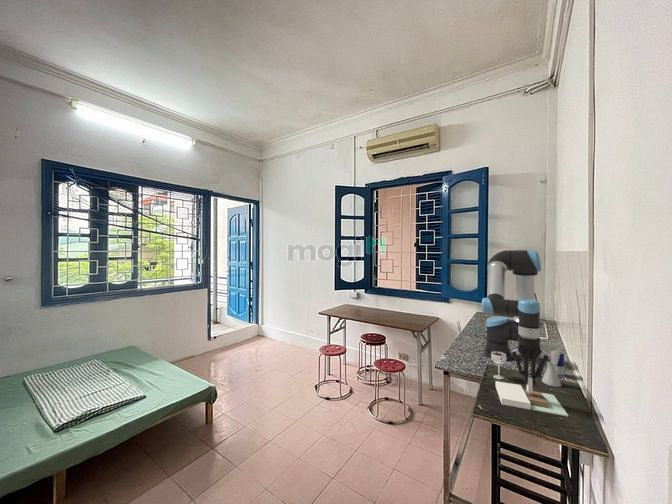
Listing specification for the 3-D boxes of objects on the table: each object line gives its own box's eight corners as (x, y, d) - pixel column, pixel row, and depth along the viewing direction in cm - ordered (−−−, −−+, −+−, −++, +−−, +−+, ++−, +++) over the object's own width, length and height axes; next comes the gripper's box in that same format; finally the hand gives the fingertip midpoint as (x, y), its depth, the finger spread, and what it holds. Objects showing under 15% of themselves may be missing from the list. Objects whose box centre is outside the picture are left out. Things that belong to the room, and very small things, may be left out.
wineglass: (488, 375, 137) (487, 351, 137) (498, 373, 138) (498, 350, 138) (499, 381, 130) (498, 356, 130) (510, 379, 132) (510, 355, 132)
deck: (495, 386, 125) (495, 381, 125) (520, 390, 121) (520, 385, 121) (501, 404, 111) (501, 398, 111) (530, 409, 107) (530, 403, 107)
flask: (538, 380, 131) (537, 359, 131) (553, 380, 131) (553, 359, 131) (549, 387, 124) (549, 366, 124) (565, 387, 124) (565, 366, 124)
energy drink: (567, 377, 133) (566, 354, 133) (555, 377, 134) (554, 353, 134) (560, 373, 138) (559, 350, 138) (548, 372, 139) (548, 349, 139)
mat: (522, 390, 121) (522, 389, 121) (553, 395, 117) (553, 394, 117) (532, 410, 106) (532, 408, 106) (568, 416, 102) (568, 415, 102)
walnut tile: (524, 393, 118) (524, 389, 118) (540, 396, 115) (540, 392, 115) (529, 404, 109) (529, 399, 109) (547, 407, 107) (547, 402, 107)
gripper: (513, 337, 113) (513, 392, 113) (551, 341, 107) (551, 399, 107) (509, 332, 119) (509, 384, 119) (544, 335, 114) (545, 390, 114)
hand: (529, 391), depth 113 cm, fingers closed
